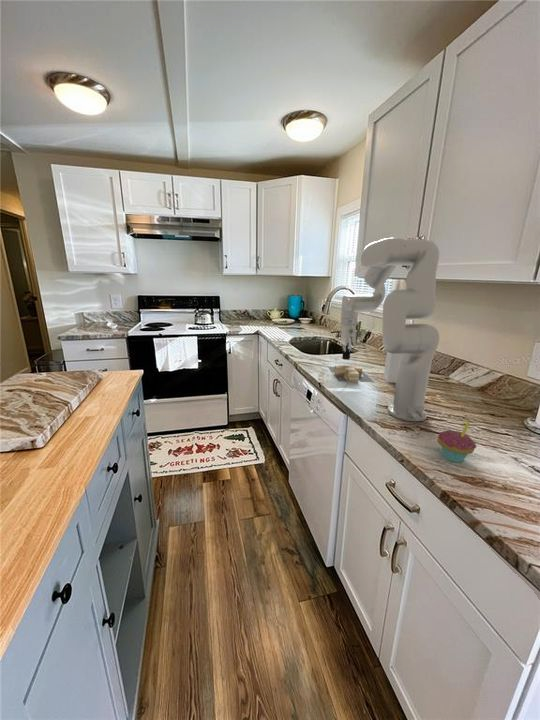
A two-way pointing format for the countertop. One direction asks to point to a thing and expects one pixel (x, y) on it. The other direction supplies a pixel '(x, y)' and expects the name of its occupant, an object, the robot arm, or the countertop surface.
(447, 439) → the cupcake
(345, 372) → the t block
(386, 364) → the milk carton
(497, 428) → the countertop surface
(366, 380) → the board
